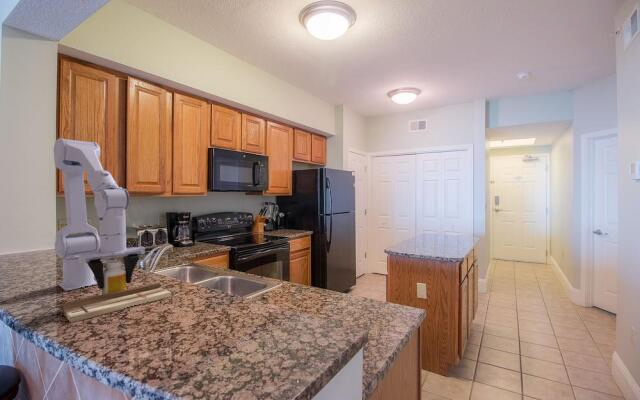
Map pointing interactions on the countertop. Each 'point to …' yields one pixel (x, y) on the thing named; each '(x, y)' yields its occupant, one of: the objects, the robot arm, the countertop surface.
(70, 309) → the board
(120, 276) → the supplement bottle
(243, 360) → the countertop surface
